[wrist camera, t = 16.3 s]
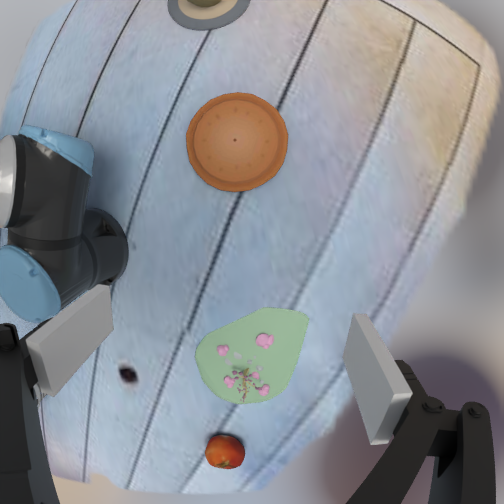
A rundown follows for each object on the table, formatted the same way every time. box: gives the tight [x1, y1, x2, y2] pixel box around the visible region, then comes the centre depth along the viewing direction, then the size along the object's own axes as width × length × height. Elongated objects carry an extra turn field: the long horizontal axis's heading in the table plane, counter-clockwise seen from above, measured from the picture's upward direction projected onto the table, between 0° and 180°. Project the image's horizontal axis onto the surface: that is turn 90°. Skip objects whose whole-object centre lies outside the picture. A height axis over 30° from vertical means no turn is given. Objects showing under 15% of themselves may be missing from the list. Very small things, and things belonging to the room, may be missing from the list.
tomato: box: [205, 435, 245, 469], centre depth 61 cm, size 9×9×8 cm
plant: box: [195, 307, 309, 404], centre depth 54 cm, size 25×21×9 cm
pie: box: [186, 92, 288, 192], centre depth 46 cm, size 15×16×5 cm
